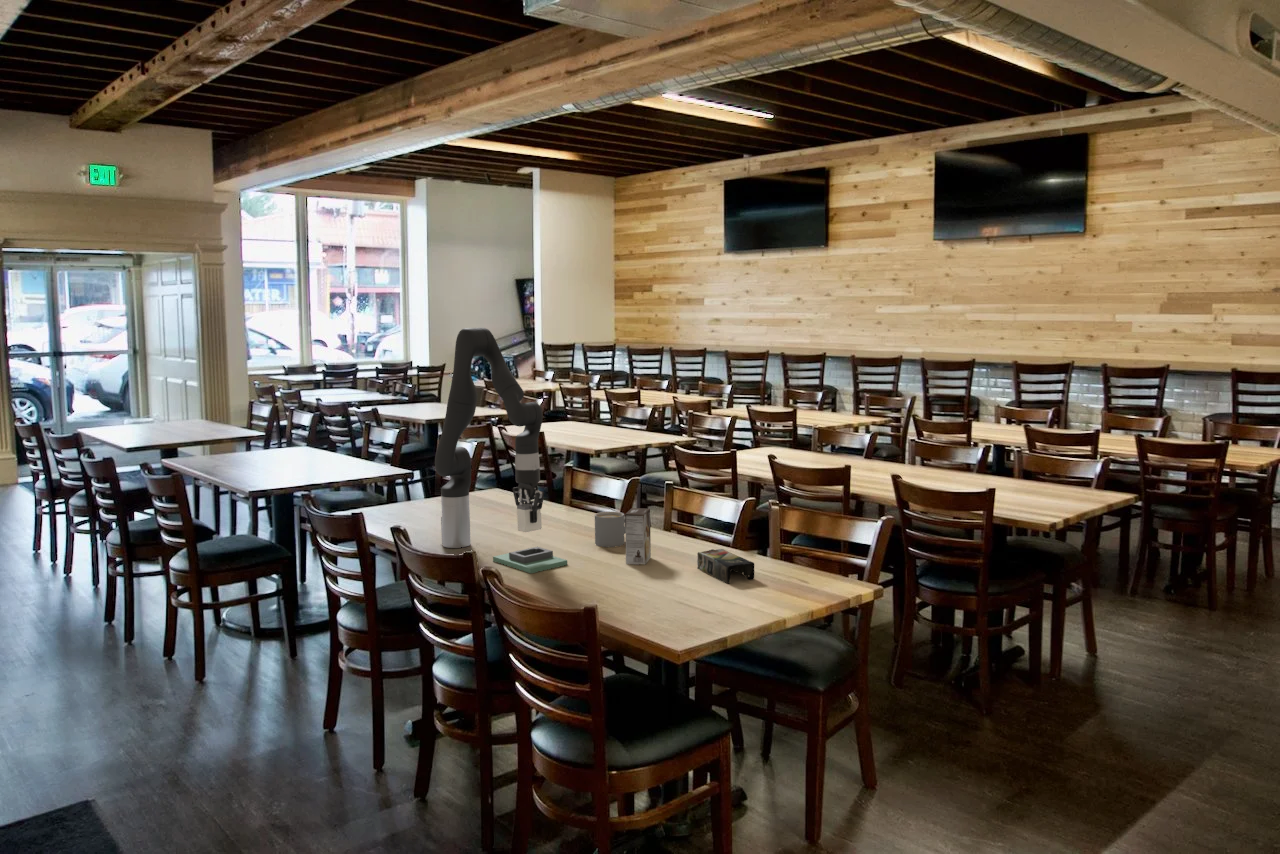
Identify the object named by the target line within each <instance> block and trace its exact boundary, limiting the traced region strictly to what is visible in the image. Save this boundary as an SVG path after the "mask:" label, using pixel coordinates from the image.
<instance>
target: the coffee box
mask: <svg viewBox="0 0 1280 854" xmlns="http://www.w3.org/2000/svg"><path fill="white" fill-rule="evenodd" d="M624 517H625V523H624V526H625V531H626V533H625V564H626V565H639V564H644V565H646V564H647V563H648V562H649V560H650V559H651V557H652V553H651V550H652V549H651V547H652V545H651V542H652V541H651V508H643V507H641V508H639V507H637V508H635V507H633V508H630V509H629V510H628V511H627V512H626V513H624ZM644 565H643V566H644Z"/></svg>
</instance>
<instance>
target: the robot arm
mask: <svg viewBox="0 0 1280 854" xmlns="http://www.w3.org/2000/svg"><path fill="white" fill-rule="evenodd" d="M474 357H483V358H484V359H485V360H486V361H487V362H488V364H489V365H490V367H491V368H490V369H491V382H492V385H493V388H494V390H495V391H496V393H497V394H498V396H499V397H500V399H501V401H502V402H503V406H504V409H505V411H506V414H507V418H508V420H509V422H511V424H512V425H514V426H516V427H524V429H523V431H522V432H521V433H519V434H517V435H516V436H515V440H514V443H515V444H514V445H515V456H514V457H515V458H514V466H515V467H514V469H515V470H514V471H515V482H516V483H517V484H518V486H516V487H515V486H514V487H512V493H513V497H514V502H515V506H516V507H517V505H521V504H529V508H530V523H536V522H537V510H539V509H540V510H542V508H543V503H544V496H545V492H544V490H543V491H540V490H539V487H538V483H540V481H541V470H540V469H541V468H540V456H539V455H540V453H539V437H540V432H541V427H542V423H543V419H544V416H543V410H542V409H543V408H542V407H541V406H540V405H539V403H537V402H534V401H532V402H531V401H530V402H523V403H522V402H521V401H522V400H523V398H524V395H525V392H524V390H523V388H522V387H521V385H520V383H519V382H518V381H517V379H516V378H515V376H514V375H513V374H512V371H511V370H510V368H509V367H508V365H507V362H506V359H505V357H504V355H503V352H502V351H501V349H500V347H499V345H498V342H497V340H496V338H495V337H494V335H493V333H492V332H491V330H490V329H488V328H486V327H464V328H461V329H460V331H459V332H458V334H457V337H456V340H455V348H454V361H453V372H452V377H451V384H450V389H449V394H448V399H447V403H446V410H445V411H446V412H445V415H444V416H445V417H444V422H443V427H442V431H441V435H440V438H439V441H438V445H437V448H436V452H435V456H434V467H435V471H436V473H437V475H439V476H440V477H451V478H450V479H449V480H448V482H446V483H445V484H444V485H442V487H441V488H440V497H441V498H440V499H441V500H440V501H441V503H440V504H441V517H440V526H441V530H440V531H441V532H440V533H441V544H442V546H443V548H449V549H460V548H461V547H462V548H465V547H469V546H471V544H472V543H471V541H472V540H471V516H470V515H471V513H470V509H471V508H470V489H471V485H472V458H471V455H470V452H469V451H468V449H467V448H465V447H463V446H458V442H459V440H460V438H461V435H462V434H463V433H464V431H466V430H467V427H468V426H469V424H470V423H471V421H472V420H473V418H474V417H475V414H476V410H477V409H476V408H477V404H478V403H477V402H478V397H479V396H478V390H477V388H476V385H475V383H474V381H473V378H472V371H471V369H472V363H473V358H474ZM532 503H534V505H532ZM538 504H539V505H538Z"/></svg>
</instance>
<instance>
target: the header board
mask: <svg viewBox="0 0 1280 854" xmlns="http://www.w3.org/2000/svg"><path fill="white" fill-rule="evenodd" d="M492 562H495V563H497V562H498V564H500V563H501V564H500V565H503V564H504V566H506V565H507V566H506V567H509V566H510V568H512V567H513V569H515V568H516V570H518V569H519V570H518V571H522V570H523V571H522V572H525V573H528V574H534V573H535V574H536V573H539V572H538V571H540V572H543V570H544V571H547V569H548V570H552V569H556V568H560V566H561V567H564V565H565V566H568V559H564V558H561V557H558V556H554V553H553V550H550V549H547V548H543V547H541V546H533V547H530V548H529V547H528V548H524V549H520V550H519V549H518V550H515V551H511V552H507V553H503V554H499V555H494V556H492ZM555 567H556V568H555ZM551 568H552V569H551Z"/></svg>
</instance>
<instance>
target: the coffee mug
mask: <svg viewBox="0 0 1280 854" xmlns="http://www.w3.org/2000/svg"><path fill="white" fill-rule="evenodd" d="M625 535H626V531H625V513H624V512H621V511H601V512H597V513H595V514H594V544H596V545H595V546H597V547H601V546H602V547H601V548H616V547H615V546H618V547H621V545H622V546H624V545H625V544H626V541H625ZM623 544H624V545H623Z"/></svg>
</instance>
